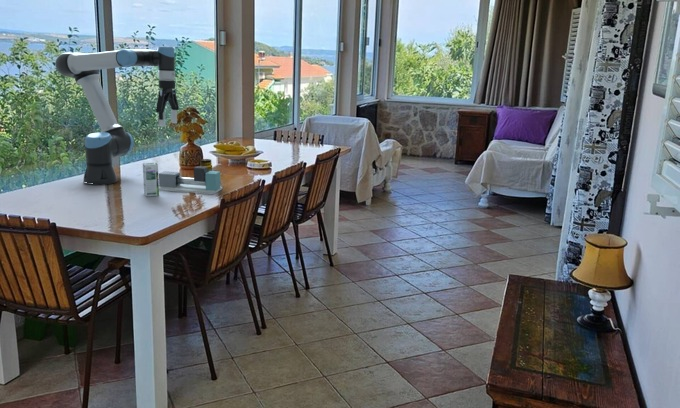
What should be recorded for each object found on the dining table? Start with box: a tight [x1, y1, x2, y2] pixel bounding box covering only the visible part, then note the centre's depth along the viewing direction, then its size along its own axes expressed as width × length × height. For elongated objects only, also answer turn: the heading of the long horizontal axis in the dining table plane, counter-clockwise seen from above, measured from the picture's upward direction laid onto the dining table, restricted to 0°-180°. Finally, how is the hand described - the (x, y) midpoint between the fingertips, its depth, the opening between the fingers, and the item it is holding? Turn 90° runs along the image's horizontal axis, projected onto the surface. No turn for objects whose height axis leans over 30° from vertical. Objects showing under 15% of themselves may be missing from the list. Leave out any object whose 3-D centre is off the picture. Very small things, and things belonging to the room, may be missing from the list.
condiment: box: [199, 158, 213, 172], centre depth 294 cm, size 7×8×12 cm
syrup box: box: [142, 162, 160, 197], centre depth 266 cm, size 6×6×14 cm
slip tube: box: [176, 165, 208, 186], centre depth 280 cm, size 22×4×9 cm, turn 82°
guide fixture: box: [158, 170, 223, 195], centre depth 281 cm, size 28×12×9 cm, turn 82°
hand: (168, 124), depth 285 cm, fingers open, 13 cm apart
